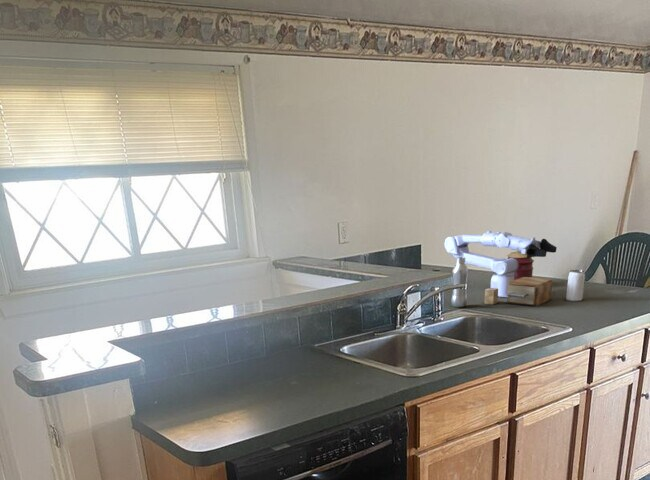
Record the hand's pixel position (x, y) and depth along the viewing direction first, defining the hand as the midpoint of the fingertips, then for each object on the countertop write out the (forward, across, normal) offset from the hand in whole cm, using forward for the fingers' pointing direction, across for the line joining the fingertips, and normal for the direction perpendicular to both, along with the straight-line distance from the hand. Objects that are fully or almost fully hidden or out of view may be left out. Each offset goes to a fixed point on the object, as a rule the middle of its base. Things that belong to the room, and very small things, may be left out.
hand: (550, 252), depth 267 cm
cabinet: (-2, -6, +20) cm, 21 cm away
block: (-13, -19, +20) cm, 31 cm away
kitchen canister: (-23, +19, +26) cm, 40 cm away
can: (+11, +6, +20) cm, 23 cm away
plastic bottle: (-19, -33, +20) cm, 43 cm away
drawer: (-2, -11, +19) cm, 22 cm away
